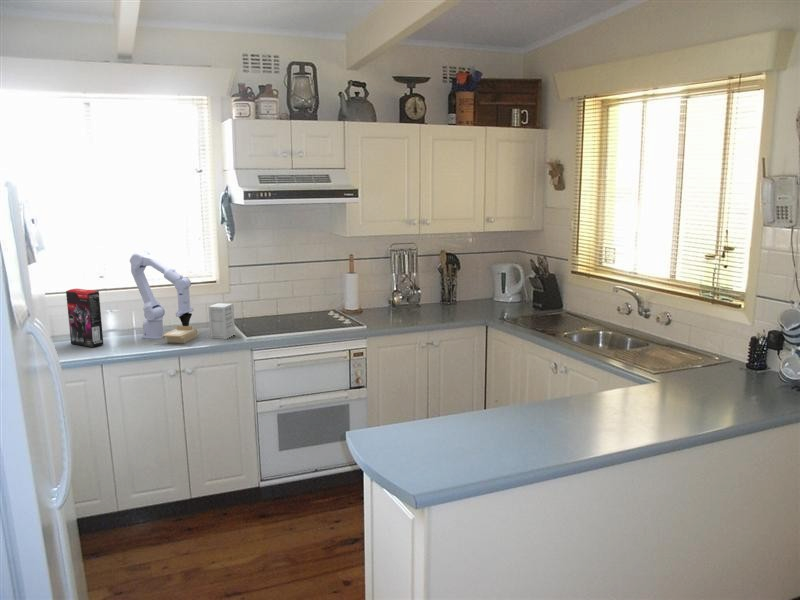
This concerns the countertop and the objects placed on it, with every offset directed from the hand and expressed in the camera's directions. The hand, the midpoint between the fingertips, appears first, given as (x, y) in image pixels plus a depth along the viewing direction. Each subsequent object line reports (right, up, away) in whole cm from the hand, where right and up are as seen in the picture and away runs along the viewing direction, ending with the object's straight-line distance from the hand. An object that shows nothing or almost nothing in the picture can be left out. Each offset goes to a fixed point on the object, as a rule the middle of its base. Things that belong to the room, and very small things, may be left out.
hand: (185, 327), depth 339 cm
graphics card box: (-46, -8, -10) cm, 47 cm away
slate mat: (0, -6, -4) cm, 7 cm away
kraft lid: (-1, -3, -6) cm, 7 cm away
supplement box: (+18, -5, +4) cm, 19 cm away
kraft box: (-1, -6, -3) cm, 6 cm away
